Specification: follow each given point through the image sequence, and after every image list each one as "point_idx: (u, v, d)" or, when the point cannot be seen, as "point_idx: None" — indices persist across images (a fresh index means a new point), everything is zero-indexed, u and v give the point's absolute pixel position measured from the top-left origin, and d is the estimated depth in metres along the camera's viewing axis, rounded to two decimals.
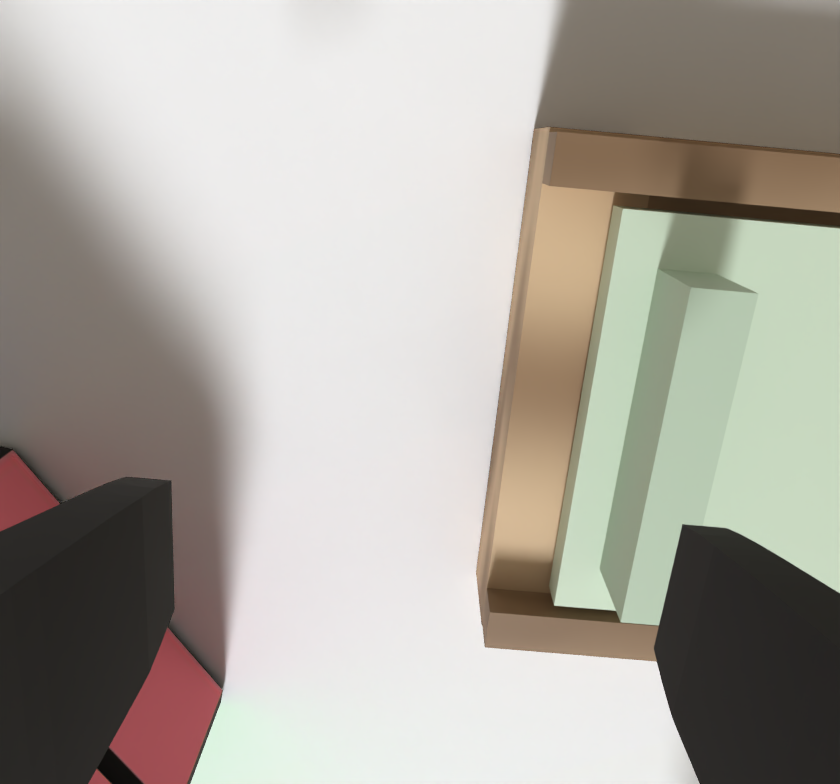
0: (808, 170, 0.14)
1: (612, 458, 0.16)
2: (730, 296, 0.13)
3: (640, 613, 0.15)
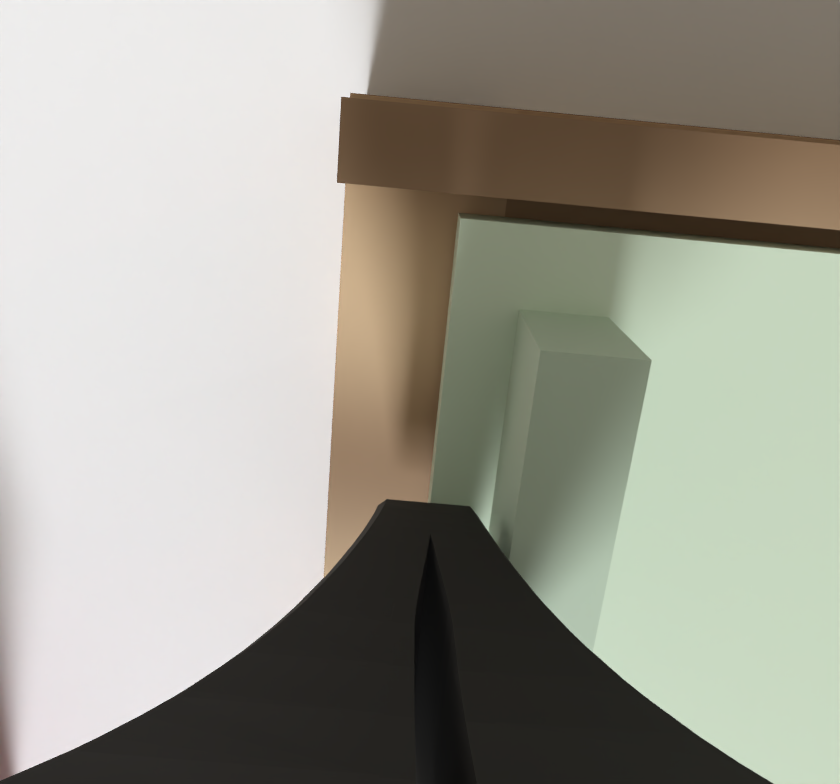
0: (736, 159, 0.09)
1: None
2: (607, 365, 0.08)
3: None
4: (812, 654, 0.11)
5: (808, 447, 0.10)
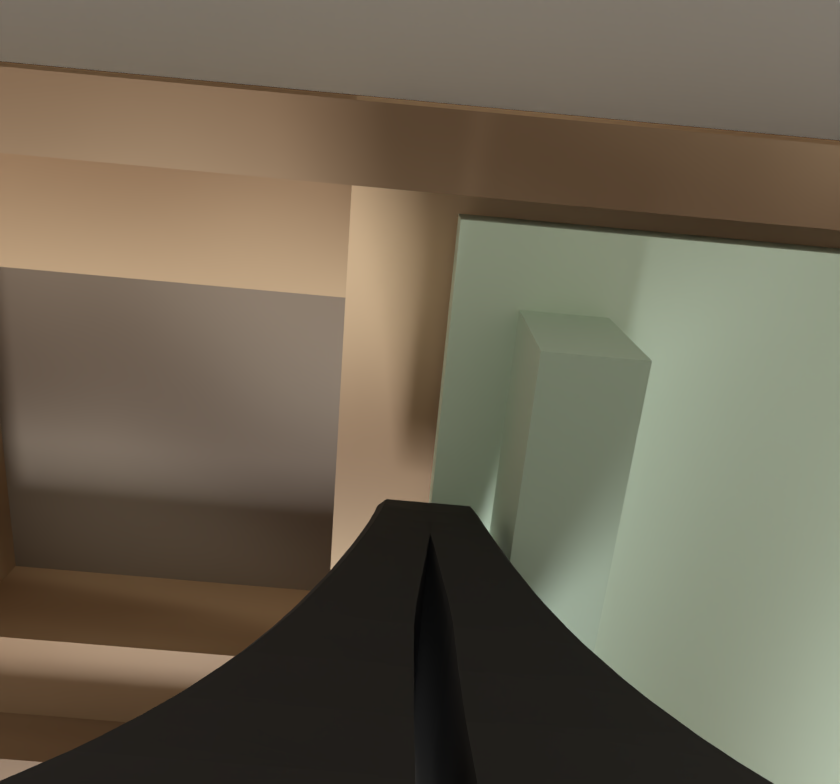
0: (29, 93, 0.09)
1: None
2: (607, 365, 0.08)
3: None
4: (813, 654, 0.11)
5: (808, 447, 0.10)
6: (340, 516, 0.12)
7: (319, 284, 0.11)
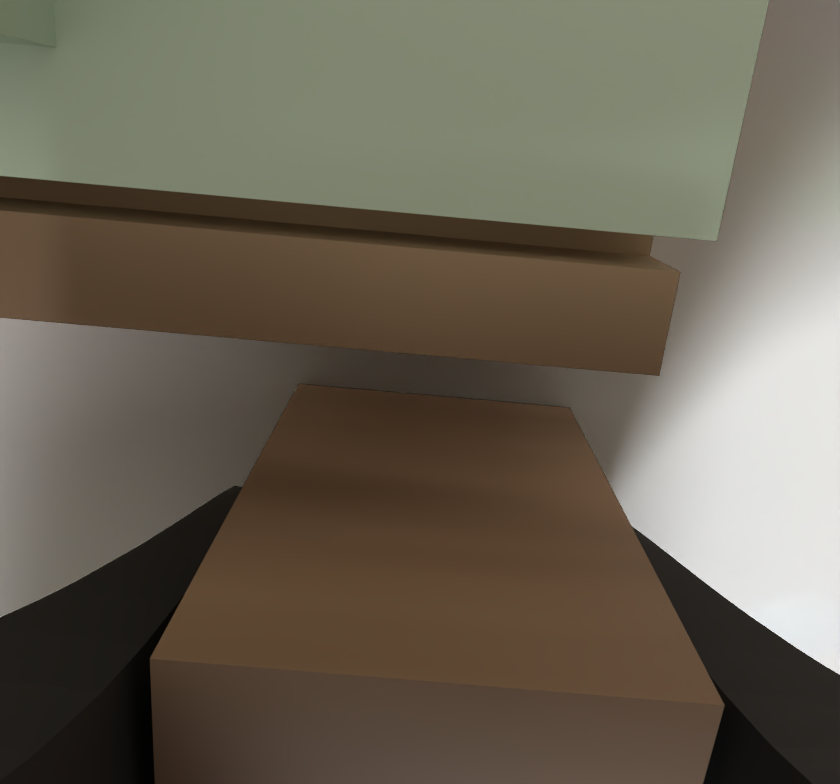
0: None
1: None
2: None
3: None
4: None
5: None
6: None
7: None
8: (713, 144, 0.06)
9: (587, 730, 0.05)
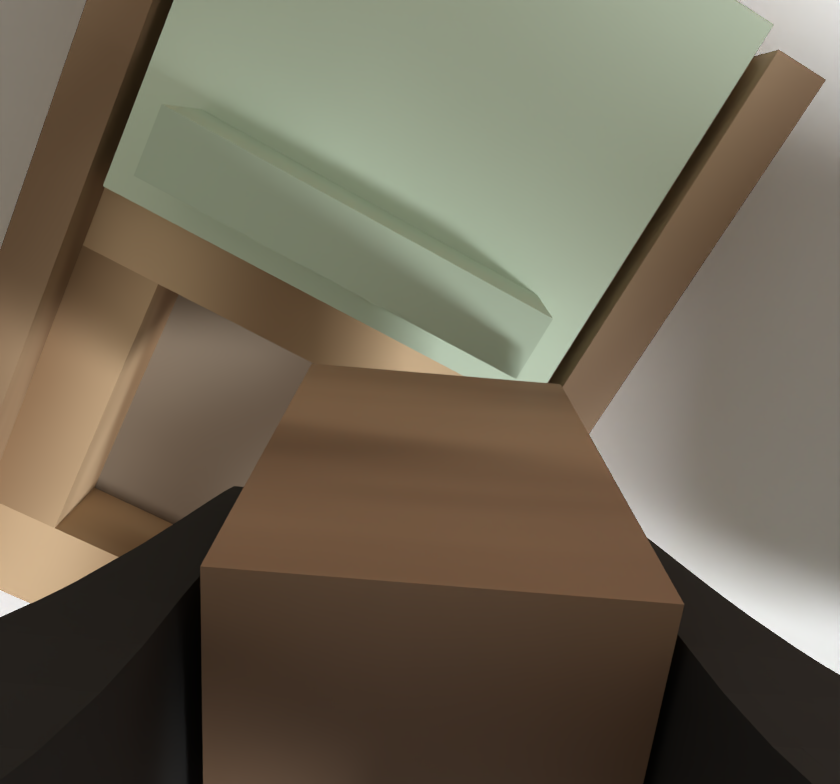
0: None
1: None
2: (156, 135, 0.11)
3: (514, 354, 0.12)
4: (562, 33, 0.13)
5: None
6: (316, 359, 0.15)
7: (144, 296, 0.15)
8: (726, 11, 0.12)
9: (570, 627, 0.06)
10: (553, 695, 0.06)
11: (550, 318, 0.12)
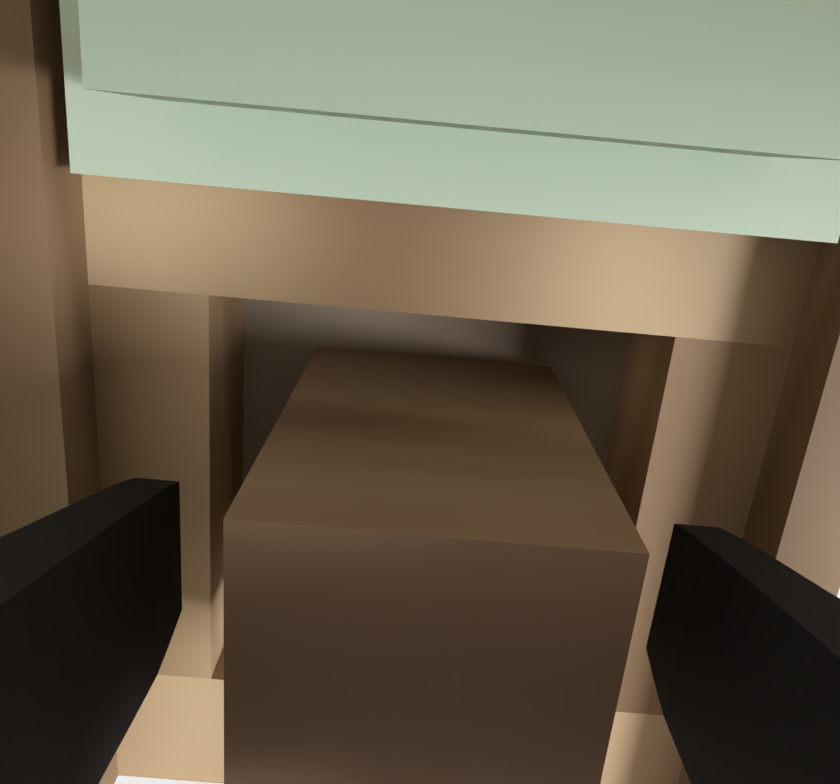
0: None
1: (524, 151, 0.09)
2: None
3: None
4: None
5: None
6: (467, 310, 0.10)
7: (197, 321, 0.10)
8: None
9: (549, 575, 0.07)
10: (535, 634, 0.07)
11: None
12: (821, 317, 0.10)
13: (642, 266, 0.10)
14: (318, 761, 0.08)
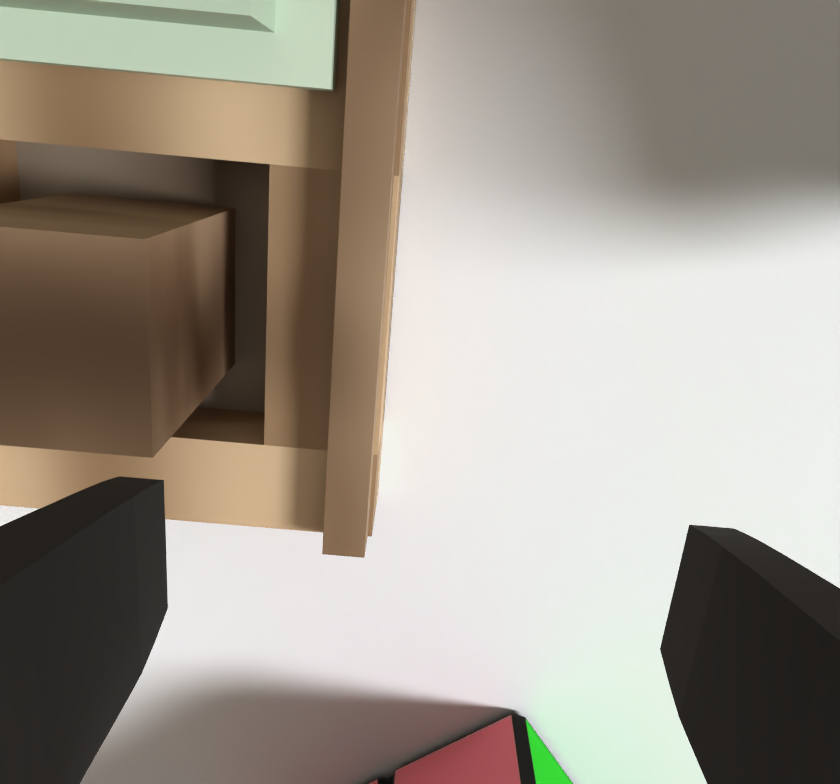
0: None
1: (127, 29, 0.14)
2: None
3: None
4: None
5: None
6: (131, 145, 0.15)
7: None
8: None
9: (91, 253, 0.12)
10: (91, 293, 0.13)
11: None
12: None
13: (239, 114, 0.15)
14: None
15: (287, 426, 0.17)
